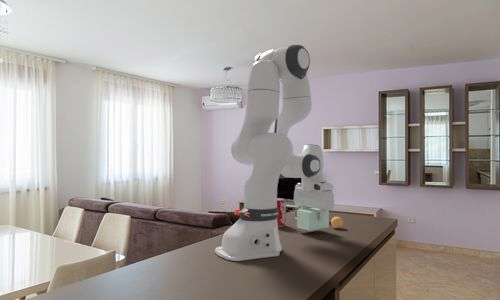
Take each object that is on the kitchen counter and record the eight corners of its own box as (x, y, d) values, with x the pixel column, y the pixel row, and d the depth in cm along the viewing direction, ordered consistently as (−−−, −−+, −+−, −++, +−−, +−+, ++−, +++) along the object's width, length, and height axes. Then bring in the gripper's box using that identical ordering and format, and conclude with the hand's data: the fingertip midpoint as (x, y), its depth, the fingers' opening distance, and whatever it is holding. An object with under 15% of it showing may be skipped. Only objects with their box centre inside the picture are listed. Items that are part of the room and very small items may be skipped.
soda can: (285, 224, 155) (285, 198, 155) (286, 227, 148) (285, 200, 148) (270, 224, 156) (270, 197, 156) (269, 227, 149) (269, 199, 149)
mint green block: (309, 230, 133) (309, 212, 133) (297, 227, 139) (296, 210, 139) (329, 227, 139) (328, 209, 139) (316, 224, 145) (316, 207, 145)
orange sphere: (337, 230, 143) (337, 218, 143) (328, 227, 147) (328, 216, 147) (345, 228, 146) (345, 217, 146) (336, 226, 150) (336, 215, 150)
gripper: (290, 183, 146) (290, 215, 146) (325, 187, 129) (325, 223, 129) (301, 182, 149) (301, 213, 149) (336, 185, 132) (337, 221, 132)
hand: (312, 218), depth 139 cm, fingers closed on mint green block, 7 cm apart
